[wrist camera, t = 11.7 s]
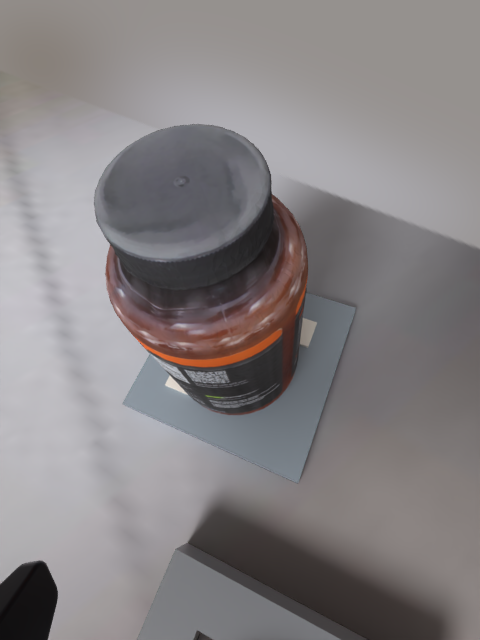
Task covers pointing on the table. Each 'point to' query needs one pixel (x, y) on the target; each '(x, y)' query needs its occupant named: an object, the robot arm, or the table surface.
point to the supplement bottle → (205, 264)
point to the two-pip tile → (271, 422)
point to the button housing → (228, 606)
